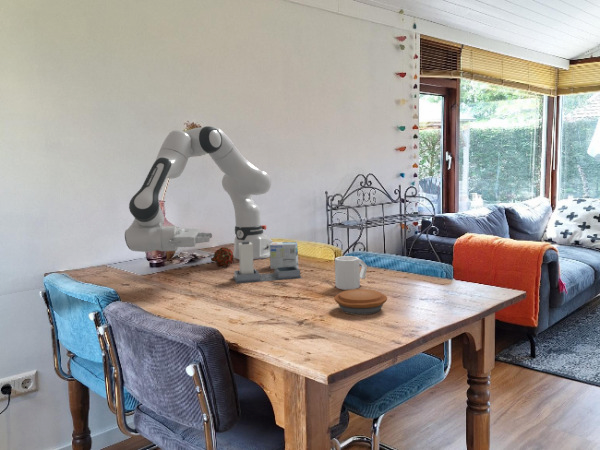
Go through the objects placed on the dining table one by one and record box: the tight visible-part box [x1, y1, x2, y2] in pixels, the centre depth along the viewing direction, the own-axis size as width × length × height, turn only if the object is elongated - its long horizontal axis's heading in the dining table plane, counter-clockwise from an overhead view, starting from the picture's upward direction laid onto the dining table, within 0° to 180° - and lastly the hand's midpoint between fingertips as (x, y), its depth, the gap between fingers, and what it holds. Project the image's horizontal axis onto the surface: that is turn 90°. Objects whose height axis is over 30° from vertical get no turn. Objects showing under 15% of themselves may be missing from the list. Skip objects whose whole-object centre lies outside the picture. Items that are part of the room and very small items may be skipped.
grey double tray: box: [232, 266, 303, 285], centre depth 207 cm, size 24×12×4 cm, turn 103°
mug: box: [334, 255, 368, 291], centre depth 194 cm, size 12×9×10 cm
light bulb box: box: [269, 241, 299, 270], centre depth 224 cm, size 11×7×11 cm, turn 84°
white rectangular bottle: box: [238, 241, 255, 275], centre depth 204 cm, size 4×4×14 cm
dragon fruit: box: [210, 246, 235, 267], centre depth 236 cm, size 8×8×12 cm
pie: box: [333, 288, 388, 315], centre depth 165 cm, size 15×16×5 cm
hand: (210, 237), depth 202 cm, fingers open, 8 cm apart
